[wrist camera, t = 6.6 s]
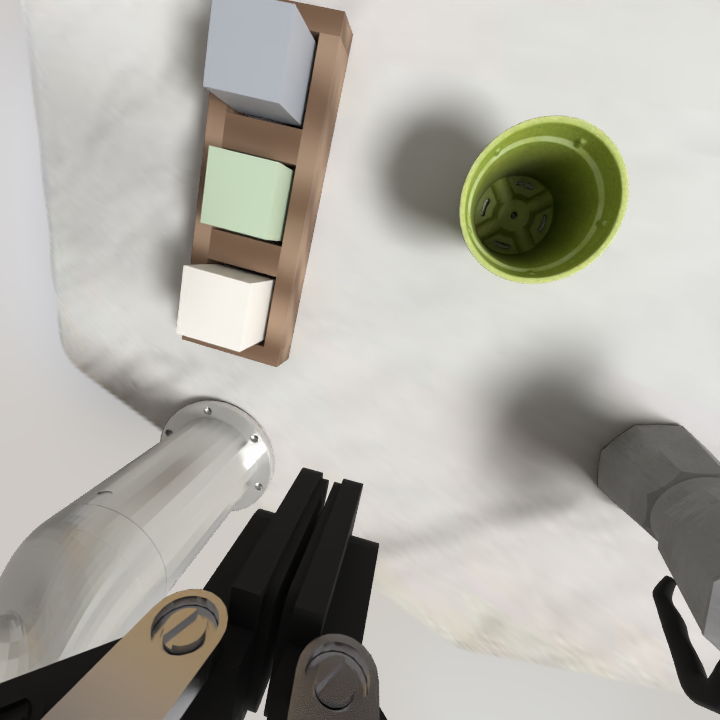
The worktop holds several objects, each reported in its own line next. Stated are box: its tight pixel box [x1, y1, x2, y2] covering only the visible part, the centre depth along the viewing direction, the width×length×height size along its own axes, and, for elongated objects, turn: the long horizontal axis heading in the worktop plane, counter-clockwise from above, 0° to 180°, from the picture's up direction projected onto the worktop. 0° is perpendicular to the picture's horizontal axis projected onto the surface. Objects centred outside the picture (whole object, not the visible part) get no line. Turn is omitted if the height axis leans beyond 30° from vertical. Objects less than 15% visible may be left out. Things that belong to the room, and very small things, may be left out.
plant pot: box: [459, 115, 629, 284], centre depth 27 cm, size 9×9×9 cm
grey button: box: [203, 0, 317, 127], centre depth 28 cm, size 6×6×5 cm
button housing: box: [182, 0, 353, 367], centre depth 33 cm, size 27×9×3 cm, turn 166°
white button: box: [176, 264, 275, 352], centre depth 33 cm, size 6×6×5 cm
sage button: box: [200, 145, 295, 241], centre depth 32 cm, size 6×6×5 cm
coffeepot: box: [597, 424, 720, 714], centre depth 27 cm, size 15×9×18 cm, turn 162°
